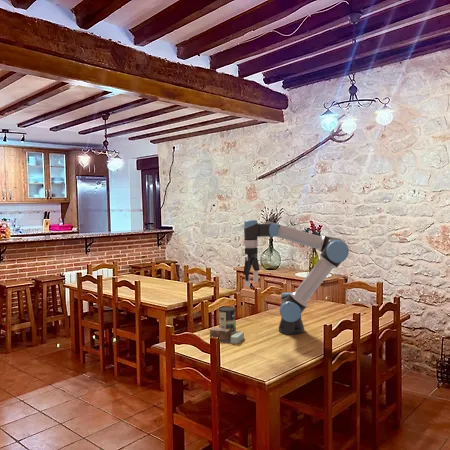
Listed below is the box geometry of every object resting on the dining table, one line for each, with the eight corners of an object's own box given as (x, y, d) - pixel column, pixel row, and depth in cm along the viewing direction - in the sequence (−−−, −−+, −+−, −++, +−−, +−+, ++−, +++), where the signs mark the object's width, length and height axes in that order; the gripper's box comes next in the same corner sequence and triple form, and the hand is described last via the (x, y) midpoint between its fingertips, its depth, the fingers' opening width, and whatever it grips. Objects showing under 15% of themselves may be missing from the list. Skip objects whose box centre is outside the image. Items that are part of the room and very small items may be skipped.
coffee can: (237, 329, 265) (236, 306, 264) (234, 334, 255) (233, 310, 254) (220, 328, 267) (220, 306, 266) (217, 333, 257) (216, 310, 256)
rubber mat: (236, 337, 250) (236, 336, 250) (229, 342, 240) (229, 342, 240) (219, 335, 254) (219, 334, 254) (211, 340, 245) (211, 340, 245)
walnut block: (230, 329, 248) (213, 327, 252) (227, 331, 243) (209, 329, 248) (231, 337, 248) (213, 335, 253) (227, 340, 244) (210, 338, 248)
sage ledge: (243, 338, 248) (243, 332, 248) (237, 343, 239) (237, 337, 238) (237, 337, 249) (237, 331, 249) (230, 342, 240) (230, 336, 240)
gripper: (252, 244, 259) (253, 279, 261) (236, 249, 237) (237, 288, 238) (264, 244, 256) (264, 280, 258) (249, 250, 234) (250, 288, 235)
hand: (251, 284), depth 248 cm, fingers open, 13 cm apart
